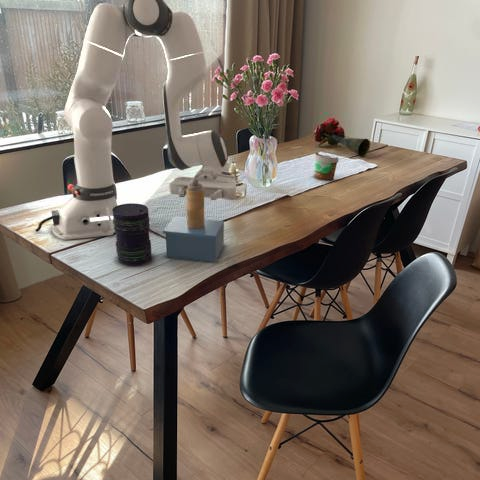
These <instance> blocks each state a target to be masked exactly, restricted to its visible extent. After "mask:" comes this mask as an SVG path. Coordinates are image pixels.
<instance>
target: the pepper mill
mask: <svg viewBox="0 0 480 480" xmlns="http://www.w3.org/2000/svg"><path fill="white" fill-rule="evenodd" d="M185 197H186V217H187V226H188V227H189V228H192V229H200V228H203V227H204V219H205V197H204V188H203V187H202V184H199V182H198V180H197V179H193V180H192V182H191V184H188V187H187V188H186V195H185Z"/></svg>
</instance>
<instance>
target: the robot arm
mask: <svg viewBox="0 0 480 480" xmlns="http://www.w3.org/2000/svg"><path fill="white" fill-rule="evenodd" d="M131 37H138V38H151V37H154V38H157V39H158V40H159V42H160V43H161V45H162V48H163V51H164V56H165V59H166V63H167V78H166V81H165V82H164V83H163V84H162V102H163V112H164V113H163V114H164V123H165V129H166V144H167V145H166V146H167V147H166V148H167V157H168V161H169V163H170V164H171V165H172V166H173V167H174V168H175V169H178V170H180V171H185V170H189V169H191V168H193V167H199V166H201V168H200V169H198V171H197V172H196V174H194V176H193V177H191V176H177V177H174V178H173V179H171V180H170V181H169V182H168V189H169V191H168V192H169V193H170V194H171V195H178V197H179V198H185V197H186V188H187V187H188V184H191V182H192V180H193V179H197V180H198V182H199V184H202V187H203V188H204V198H208V199H209V198H210V200H211V201H217V199H224V200H225V199H226V200H234V199H236V198H237V197H236V196H237V181H236V174H234V173H230V166H229V164H228V159H229V151H228V146H227V143H226V141H225V138H224V136H222V135H221V134H220V133H219V132H218V131H217V130H214V129H212V130H211V129H210V130H206V131H201V132H198V133H193V134H187V135H183V133H182V126H181V115H180V105H181V103H182V101H183V100H184V98H186V97H187V96H188V95H190V94H191V93H192V92H194V91H195V90H196V89H197V88H198V87H199V86H201V84H202V83H203V82H204V80H205V78H206V75H207V62H206V56H205V54H204V48H203V45H202V41H201V37H200V34H199V32H198V29H197V26H196V24H195V21H194V19H193V17H192V16H191V15H190V14H189V13H187V12H182V11H174V12H173V11H172V9H171V8H170V7H169V6H168V4H167V3H166V2H165V1H164V0H125V2H124V3H123V4H122V5H120V6H118V5H115V4H112V3H107V2H102V3H99V4H97V5H96V6H95V7H94V9H93V11H92V14H91V16H90V19H89V21H88V24H87V27H86V31H85V33H84V37H83V43H82V48H81V51H80V55H79V56H80V57H79V60H78V64H77V65H78V66H77V69H76V73H75V75H74V79H73V81H72V83H71V87H70V88H69V89H70V90H69V93H68V96H67V100H66V103H65V104H64V108H63V109H64V110H63V112H64V114H63V115H64V119H65V122H66V124H67V126H68V127H69V128H71V130H72V134H73V145H74V155H73V161H74V168H75V174H76V175H75V176H76V181H77V183H76V184H75V185H74V184H73V183H69V184H68V185H67V189H68V190H69V191H70V192H71V193H72V197H71V198H70V199H69V200H68V201H67V202H65V204H64V205H62V206H61V207H60V208H59V210H58V209H55V210H51V211H50V212H51V216H49V217H46V218H44V219H43V220H41V221H40V222H39V223H38V227H37V228H35V229H34V230H35V232H40V231H41V229H42V227H43V225H44V224H46V223H47V222H49V221H51V220H52V223H53V224H52V226H51V231H52V233H53V234H54V236H55V237H57V238H58V239H61V240H64V241H67V240H77V239H85V238H86V239H89V238H97V237H109V236H112V235H114V234H115V233H116V231H115V230H114V223H113V211H112V209H113V208H114V207H116V206H118V202H117V201H118V193H117V192H118V191H117V187H116V186H117V185H116V182H115V181H114V171H113V162H112V148H113V146H112V145H113V130H114V123H113V119H112V117H111V114H110V112H109V111H108V109H107V108H106V107H107V105H108V102H109V100H110V98H111V96H112V93H113V92H114V89H115V88H116V87H117V84H118V79H119V76H120V72H121V68H122V65H123V59H124V56H125V51H126V47H127V44H128V41H129V39H130V38H131Z"/></svg>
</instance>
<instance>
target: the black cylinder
mask: <svg viewBox="0 0 480 480" xmlns="http://www.w3.org/2000/svg"><path fill="white" fill-rule="evenodd" d="M112 211H113V223H114V230H115V239H116V241H115V246H116V247H115V249H116V251H115V252H116V255H117V262H118V263H119V264H121V265H122V266H126V267H139V266H144V265H147V264H149V263H150V262H151V261H152V259H153V257H152V241H151V239H150V225H151V224H150V216H149V215H150V214H149V208H148V206H147V205H144V204H141V203H133V202H132V203H131V202H130V203H122V204H117V206H116V207H114V208H113V209H112Z"/></svg>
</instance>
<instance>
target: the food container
mask: <svg viewBox="0 0 480 480" xmlns="http://www.w3.org/2000/svg"><path fill="white" fill-rule="evenodd" d="M313 160H314V178H315V179H317V180H319V181H334V178H335V173H336V170H337V165H338V163H339V157H338V156H337V157H332V156H330V155H326V154H325V155H323V154H319V151H316V152H315V153H314V154H313Z"/></svg>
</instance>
